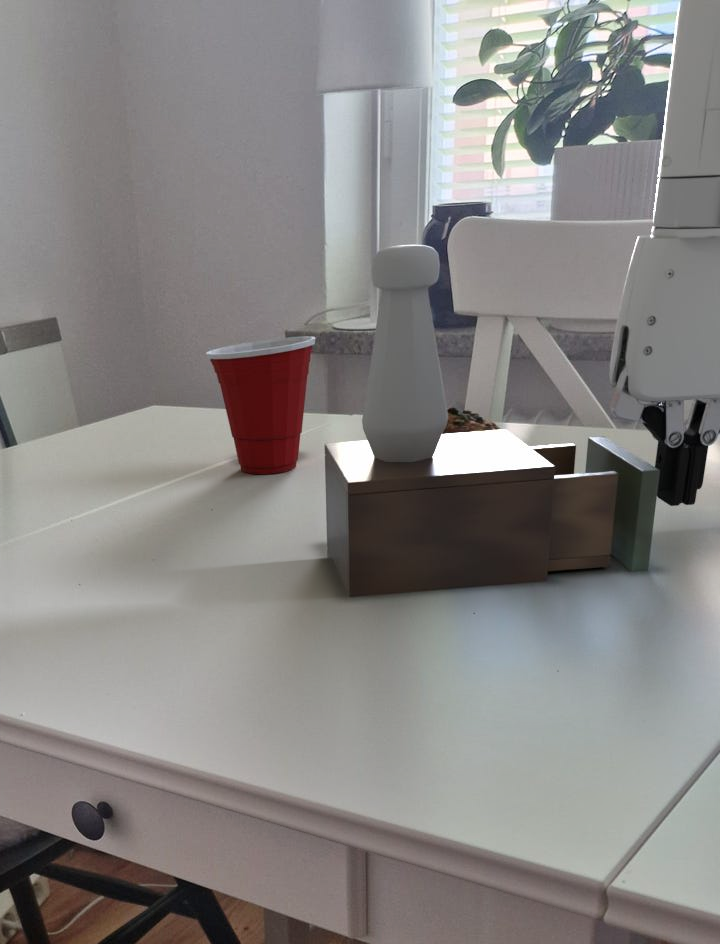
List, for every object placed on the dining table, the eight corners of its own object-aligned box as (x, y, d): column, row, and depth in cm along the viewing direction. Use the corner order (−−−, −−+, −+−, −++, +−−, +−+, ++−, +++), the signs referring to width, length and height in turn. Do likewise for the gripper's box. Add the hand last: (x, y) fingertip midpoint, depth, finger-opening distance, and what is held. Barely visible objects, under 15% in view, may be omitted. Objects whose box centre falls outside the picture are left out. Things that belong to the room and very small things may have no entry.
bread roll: (469, 464, 113) (466, 410, 111) (376, 470, 120) (371, 418, 118) (526, 446, 120) (524, 395, 118) (435, 452, 127) (431, 404, 125)
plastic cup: (253, 452, 125) (246, 331, 119) (339, 460, 119) (337, 333, 113) (192, 475, 118) (182, 347, 112) (281, 484, 112) (275, 350, 106)
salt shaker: (464, 454, 80) (471, 241, 73) (401, 469, 77) (402, 250, 71) (407, 443, 84) (409, 241, 78) (346, 457, 82) (342, 249, 75)
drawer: (610, 526, 90) (619, 434, 86) (665, 569, 80) (678, 468, 76) (434, 540, 90) (436, 448, 86) (468, 585, 80) (472, 484, 76)
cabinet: (500, 544, 91) (506, 429, 86) (546, 594, 80) (555, 466, 75) (327, 558, 90) (324, 443, 86) (349, 610, 80) (347, 482, 75)
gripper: (803, 201, 77) (754, 482, 87) (581, 213, 77) (556, 495, 86) (861, 203, 71) (802, 507, 80) (620, 217, 71) (588, 521, 80)
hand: (675, 500), depth 83 cm, fingers closed
